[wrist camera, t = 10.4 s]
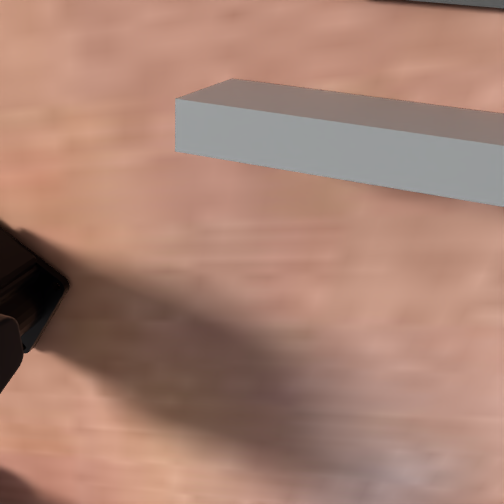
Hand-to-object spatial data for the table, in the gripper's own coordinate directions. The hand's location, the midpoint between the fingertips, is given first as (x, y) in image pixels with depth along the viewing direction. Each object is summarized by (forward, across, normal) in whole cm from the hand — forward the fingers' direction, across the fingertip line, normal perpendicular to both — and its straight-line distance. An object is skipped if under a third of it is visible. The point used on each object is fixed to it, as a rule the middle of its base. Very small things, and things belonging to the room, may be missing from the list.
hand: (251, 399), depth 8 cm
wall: (+12, -4, -2) cm, 13 cm away
